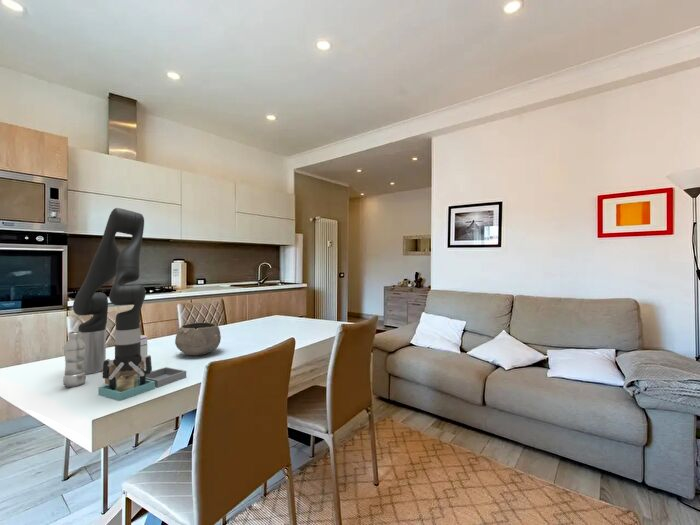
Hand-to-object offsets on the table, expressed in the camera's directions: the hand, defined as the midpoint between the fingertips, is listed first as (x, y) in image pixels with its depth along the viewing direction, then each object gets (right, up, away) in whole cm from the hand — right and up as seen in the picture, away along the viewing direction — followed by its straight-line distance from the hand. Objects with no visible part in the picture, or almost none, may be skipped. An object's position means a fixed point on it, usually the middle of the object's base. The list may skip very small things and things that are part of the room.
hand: (127, 387), depth 116 cm
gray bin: (+5, -2, +12) cm, 13 cm away
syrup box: (-14, -2, +26) cm, 29 cm away
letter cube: (0, -1, 0) cm, 1 cm away
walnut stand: (-8, -2, +10) cm, 13 cm away
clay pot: (+1, -3, +51) cm, 51 cm away
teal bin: (0, -2, 0) cm, 2 cm away
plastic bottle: (-25, -2, +7) cm, 26 cm away
